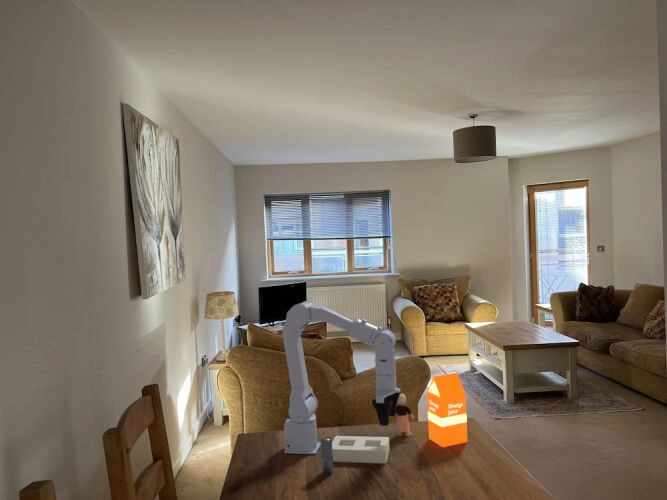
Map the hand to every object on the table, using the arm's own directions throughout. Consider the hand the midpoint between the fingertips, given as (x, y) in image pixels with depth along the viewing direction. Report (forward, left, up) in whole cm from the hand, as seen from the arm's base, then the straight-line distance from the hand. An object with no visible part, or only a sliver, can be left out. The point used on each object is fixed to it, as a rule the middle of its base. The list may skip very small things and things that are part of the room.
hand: (387, 420), depth 150 cm
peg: (-15, -13, -10) cm, 22 cm away
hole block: (-8, -1, -10) cm, 13 cm away
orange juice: (+17, +12, -10) cm, 23 cm away
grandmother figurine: (+3, +16, -10) cm, 19 cm away
